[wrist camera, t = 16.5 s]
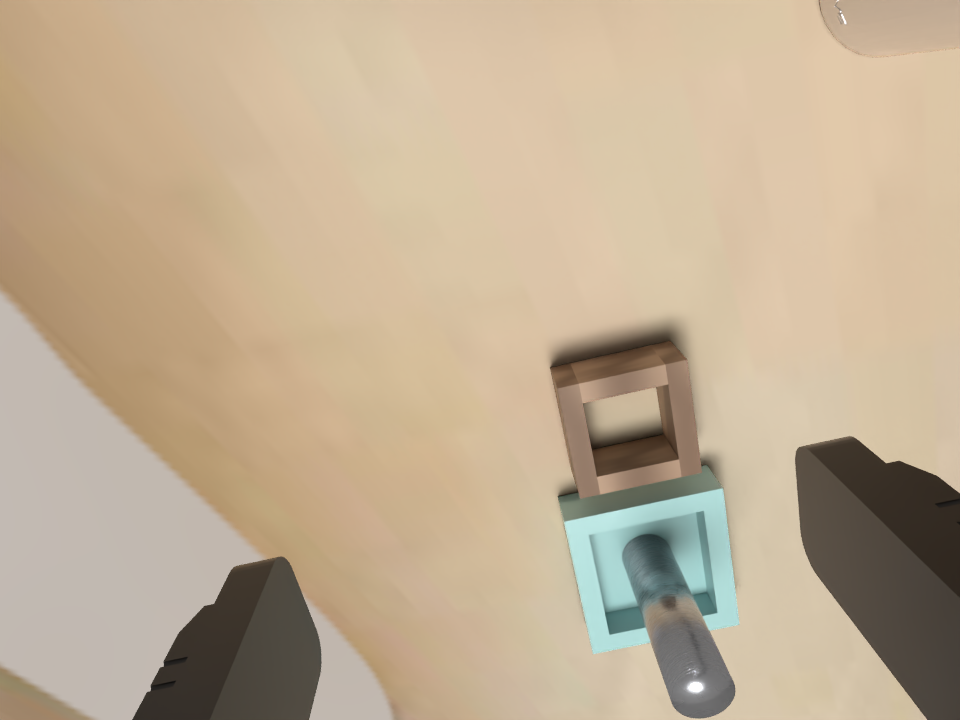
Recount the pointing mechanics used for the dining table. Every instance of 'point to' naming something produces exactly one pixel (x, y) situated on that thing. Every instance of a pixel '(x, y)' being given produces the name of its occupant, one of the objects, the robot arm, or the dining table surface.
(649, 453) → the holder
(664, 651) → the pin
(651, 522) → the tray
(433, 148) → the dining table surface
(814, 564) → the robot arm
